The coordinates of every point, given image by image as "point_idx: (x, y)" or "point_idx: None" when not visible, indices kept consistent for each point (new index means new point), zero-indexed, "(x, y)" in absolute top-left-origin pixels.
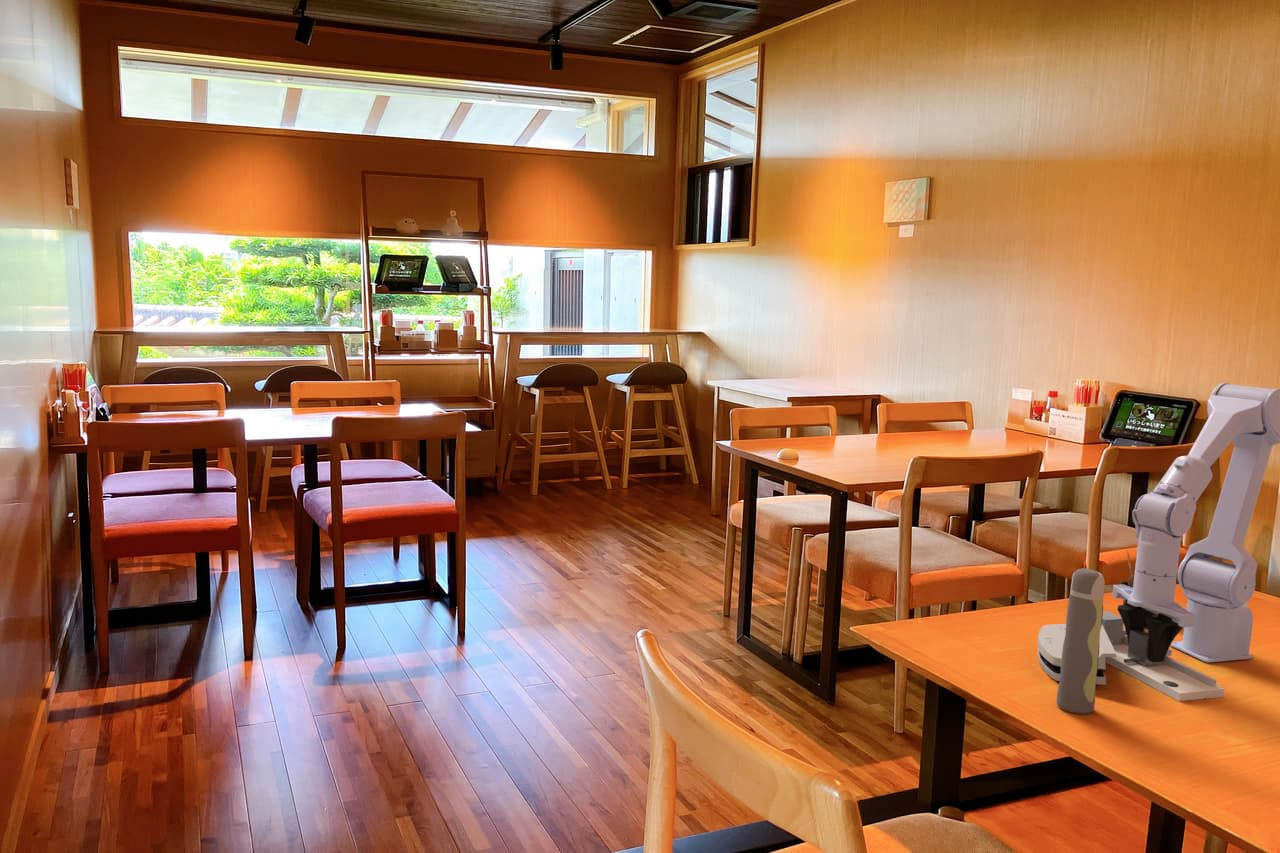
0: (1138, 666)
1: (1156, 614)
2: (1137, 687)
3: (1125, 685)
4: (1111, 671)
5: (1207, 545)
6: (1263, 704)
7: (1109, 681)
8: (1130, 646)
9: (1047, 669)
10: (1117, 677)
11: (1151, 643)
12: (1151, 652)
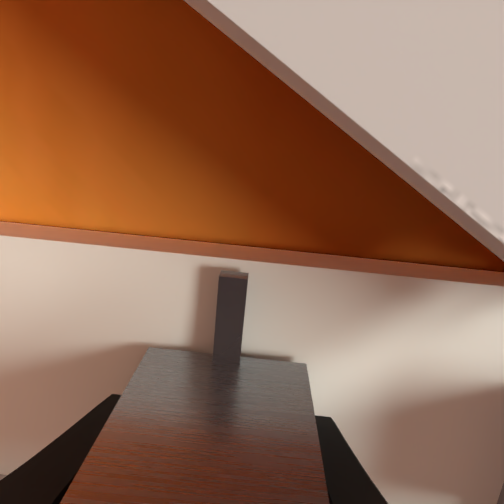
0: (174, 317)
1: None
2: (14, 126)
3: (53, 72)
4: (265, 175)
5: None
6: None
7: (131, 13)
8: (292, 413)
9: None
10: (175, 131)
11: (32, 487)
12: (80, 429)
